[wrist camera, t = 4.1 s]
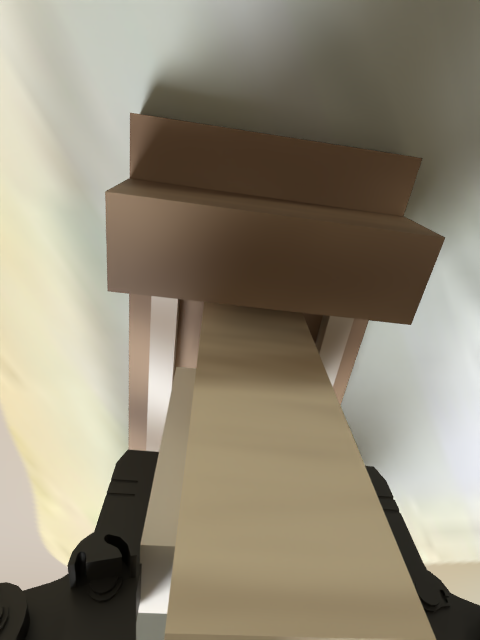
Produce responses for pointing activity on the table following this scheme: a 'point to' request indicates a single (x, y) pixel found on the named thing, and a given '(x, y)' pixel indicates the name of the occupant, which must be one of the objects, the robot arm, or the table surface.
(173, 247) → the rail bed
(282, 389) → the carriage
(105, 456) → the table surface
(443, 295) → the table surface
